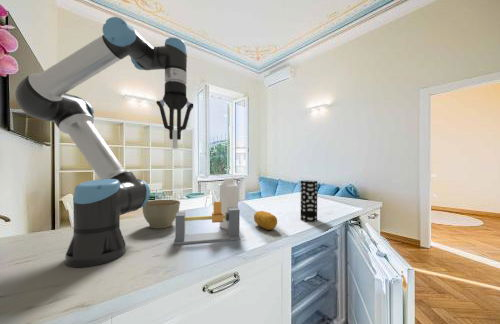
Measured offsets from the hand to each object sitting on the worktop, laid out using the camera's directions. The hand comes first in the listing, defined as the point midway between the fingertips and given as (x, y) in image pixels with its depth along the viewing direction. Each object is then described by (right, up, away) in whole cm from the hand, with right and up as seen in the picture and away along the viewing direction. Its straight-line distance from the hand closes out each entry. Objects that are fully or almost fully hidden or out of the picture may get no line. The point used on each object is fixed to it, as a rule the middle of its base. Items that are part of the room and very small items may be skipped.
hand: (175, 148), depth 77 cm
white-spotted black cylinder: (+58, -35, +32) cm, 75 cm away
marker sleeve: (+15, -28, +5) cm, 32 cm away
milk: (+18, -35, +20) cm, 44 cm away
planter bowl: (-13, -35, +20) cm, 42 cm away
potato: (+34, -35, +18) cm, 52 cm away
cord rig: (+11, -34, +5) cm, 36 cm away
